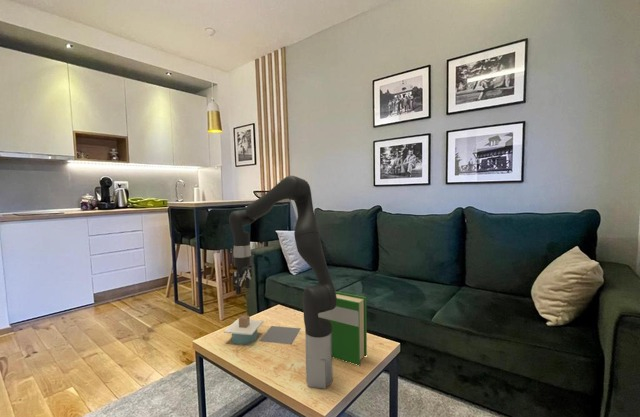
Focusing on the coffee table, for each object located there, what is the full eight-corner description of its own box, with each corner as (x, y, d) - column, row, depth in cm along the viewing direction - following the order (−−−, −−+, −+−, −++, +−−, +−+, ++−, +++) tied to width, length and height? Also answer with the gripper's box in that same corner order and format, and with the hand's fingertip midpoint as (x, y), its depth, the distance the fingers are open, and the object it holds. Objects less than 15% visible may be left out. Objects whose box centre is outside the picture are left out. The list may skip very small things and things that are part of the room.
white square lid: (251, 335, 122) (251, 324, 122) (223, 332, 125) (223, 322, 125) (263, 321, 135) (263, 312, 135) (238, 319, 138) (237, 310, 138)
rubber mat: (291, 345, 124) (291, 344, 124) (259, 342, 127) (259, 341, 127) (301, 329, 139) (300, 328, 139) (271, 326, 142) (271, 325, 142)
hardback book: (366, 356, 115) (366, 297, 114) (358, 366, 109) (358, 303, 107) (328, 344, 124) (327, 289, 123) (319, 353, 118) (318, 295, 117)
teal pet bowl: (250, 346, 124) (250, 333, 124) (227, 344, 126) (227, 331, 126) (261, 334, 135) (260, 322, 134) (239, 332, 137) (239, 320, 137)
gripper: (242, 258, 121) (243, 297, 122) (256, 252, 135) (257, 286, 136) (226, 258, 122) (227, 296, 123) (241, 251, 136) (242, 285, 137)
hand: (243, 291), depth 129 cm, fingers open, 8 cm apart
